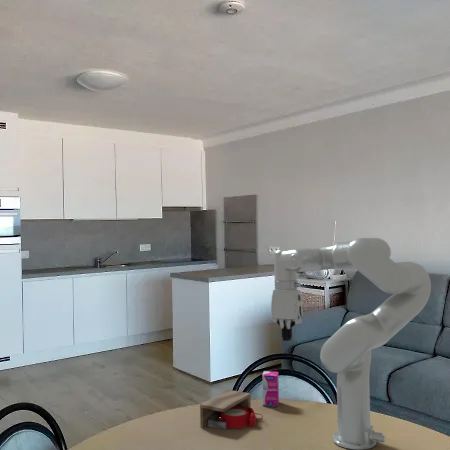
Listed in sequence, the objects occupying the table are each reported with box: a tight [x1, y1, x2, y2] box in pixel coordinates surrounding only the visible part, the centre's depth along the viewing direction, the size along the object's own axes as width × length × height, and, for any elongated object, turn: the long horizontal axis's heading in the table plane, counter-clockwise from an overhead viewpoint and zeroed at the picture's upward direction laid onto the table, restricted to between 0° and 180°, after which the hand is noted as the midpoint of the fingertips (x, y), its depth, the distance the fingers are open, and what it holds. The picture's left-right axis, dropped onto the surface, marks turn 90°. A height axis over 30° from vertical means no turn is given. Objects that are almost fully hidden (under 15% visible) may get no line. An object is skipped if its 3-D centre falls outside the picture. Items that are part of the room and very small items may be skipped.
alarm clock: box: [217, 407, 264, 429], centre depth 161 cm, size 10×6×15 cm
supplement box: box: [261, 370, 280, 407], centre depth 180 cm, size 6×6×12 cm
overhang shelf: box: [199, 389, 252, 431], centre depth 163 cm, size 9×18×8 cm, turn 149°
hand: (287, 340), depth 163 cm, fingers closed
